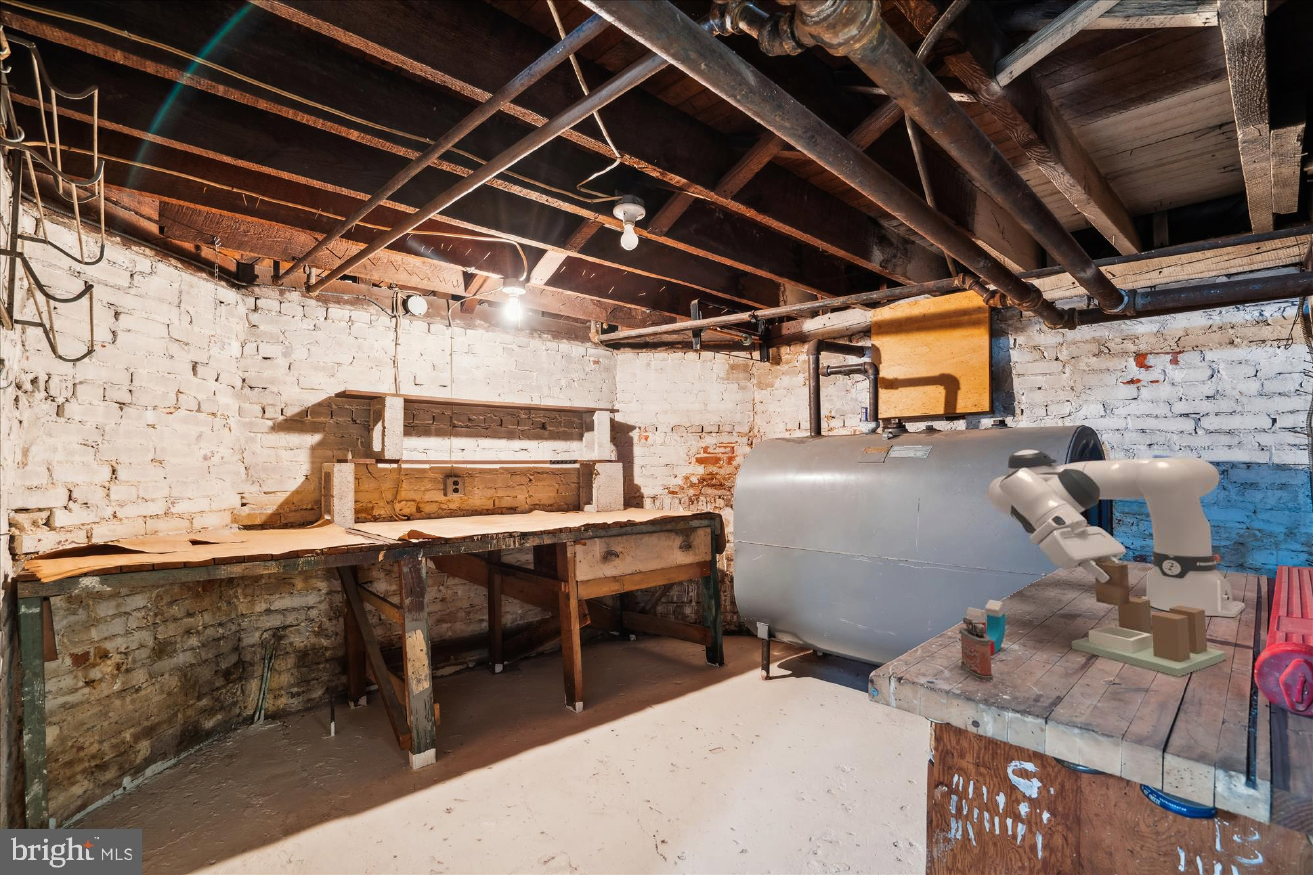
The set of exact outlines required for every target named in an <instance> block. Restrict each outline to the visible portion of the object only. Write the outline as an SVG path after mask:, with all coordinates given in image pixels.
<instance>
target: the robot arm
mask: <svg viewBox="0 0 1313 875" xmlns="http://www.w3.org/2000/svg"><path fill="white" fill-rule="evenodd" d="M1007 461H1008V462H1007V469H1009V470H1008V471H1009V472H1008V474H1007V475H1003V476H999V477H997V478H994V479H993V480H992V481H991V482H990V484H989V485H988V488H987V489H988V490H987V496H988V499H989V501H990V503H991V504H992V505H993V507H995V508H996V509H997V510H998V511H1000V512H1001V513H1002V514H1004V515H1006V516H1009V517H1011V518H1012V519H1014V520H1016V522H1018V523H1019V524H1020V525H1021V527H1022V528H1023V529H1024V531H1025V532H1026V533H1027V534H1031V535H1030V536H1029V540H1030V541H1031V542H1032V543H1033V544H1034V545H1037V546H1039V548H1040V550H1041V551H1042V553H1044V554H1045V556H1047V557H1048V558H1049V559H1050V560H1051V562H1053V564H1055V566H1057V567H1059V568H1061V569H1062V570H1069V569H1070V570H1071V569H1074V568H1075V569H1076V568H1082V569H1083V570H1084V572H1087V573H1088V574H1090V575H1092V576H1093V577H1094V578H1095V577H1096V578H1097V579H1098V580H1099V581H1100V582H1102V583H1105V582H1108V581H1109V580H1111V579H1112V576H1111V575H1109V573H1108V572H1107V571H1103V570H1102V569H1100V568H1099V567H1098V566H1096V565H1095V564H1096V563H1098V562H1104V561H1107V562H1115V563H1119V559H1120V558H1121V557H1123V556H1125V554H1126V553H1127V550H1126V548H1125V547H1124V545H1123V544H1121V543H1120V542H1119V540H1117V539H1116V538H1115V537H1114V536H1112V535H1111V534H1109V533H1108V532H1107V531H1106V530H1104V529H1103V528H1101V527H1100V526H1099V527H1098V526H1093V525H1091V524H1089V523H1088V521H1087V519H1086V518H1085V517H1084V516H1083V515H1082V514H1081V513H1082V512H1084V511H1085V510H1088V509H1090V508H1092V507H1093V506H1096V505H1098V504H1099V500H1145V503H1146V506H1147V509H1148V513H1149V515H1150V520H1151V527H1152V538H1153V540H1152V542H1153V550H1152V551H1151V564H1152V565H1153V567H1152V568H1151V569H1149V570H1148V571H1147V572H1146V573H1147V574H1146V595H1145V596H1141V597H1140V598H1141V599H1146V600H1150V607H1153V608H1155V609H1158V610H1161V611H1162V610H1163V611H1165V612H1166V611H1167V612H1170V611H1169V608H1172V607H1175V606H1179V605H1180V606H1186V607H1191V608H1197V609H1203V610H1205V616H1206V617H1207V616H1210V617H1212V616H1213V617H1215V616H1217V617H1224V618H1225V617H1227V618H1236V617H1237V616H1238V615H1239V614H1240V613H1241V612H1242V611H1243V610H1244V609H1245V608H1246V605H1245V604H1246V603H1244V602H1241V601H1238V600H1235V599H1233V593H1232V592H1233V591H1232V585H1231V583H1230V582H1229V581H1227V579H1226V578H1225V577H1224V576H1223V575H1222V574H1221V573H1220V572H1219V571H1218V570H1217V569H1218V565H1217V564H1218V563H1219V562H1220V559H1221V558H1220V555H1219V554H1213V551H1212V533H1211V524H1210V522H1209V520H1208V518H1207V517H1206V516H1205V513H1204V510H1203V507H1202V503H1201V501H1200V500H1201V499H1200V498H1201V497H1202V498H1203V497H1204V496H1206V495H1208V494H1209V493H1211V492H1212V491H1213V490H1215V488H1216V487H1217V486H1218V484H1219V482H1220V474H1219V470H1217V468H1216V467H1215V466H1214V465H1213V464H1212V463H1210V462H1209V461H1207V460H1205V459H1201V458H1198V457H1195V456H1169V457H1154V458H1153V457H1152V458H1151V457H1149V458H1129V459H1127V458H1126V459H1125V458H1124V459H1110V460H1108V459H1107V460H1106V459H1105V460H1089V461H1088V460H1087V461H1077V462H1070V463H1067V464H1061V465H1056V466H1055V465H1054V464H1055V463H1058V461H1057V460H1056V459H1054V458H1052V457H1051V456H1049V454H1047V453H1045V452H1043V451H1042V450H1036V449H1023V450H1019V451H1017V452H1015V453H1012V454H1011V455H1009V457H1008V460H1007Z"/></svg>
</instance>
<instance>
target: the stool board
mask: <svg viewBox="0 0 1313 875" xmlns="http://www.w3.org/2000/svg"><path fill="white" fill-rule="evenodd" d="M1129 601H1130V604H1125V605H1121V606H1117V610H1118V611H1117V612H1118V626H1116V625H1112V624H1111V625H1110V624H1107V625H1103V626H1099V627H1096V628H1092V629H1090V630H1088V636H1087V637H1083V638H1082V637H1081V638H1079V639H1076V640H1072V641H1071V649H1072V650H1076V651H1080V652H1084V653H1088V654H1092V655H1096V656H1099V657H1103V658H1107V659H1109V660H1113V661H1117V662H1120V663H1124V664H1128V665H1132V666H1136V667H1139V668H1143V669H1147V670H1150V669H1152V670H1151V671H1154V670H1156V671H1155V672H1158V671H1160V672H1159V673H1161V672H1164V673H1163V674H1165V673H1168V674H1167V675H1169V674H1170V675H1169V676H1173V675H1175V676H1174V677H1176V676H1178V678H1181V677H1183V676H1182V675H1184V676H1186V675H1188V674H1187V673H1189V674H1191V673H1190V672H1192V673H1194V672H1197V671H1199V669H1200V670H1202V669H1205V668H1208V667H1211V666H1213V665H1215V664H1218V663H1221V662H1223V660H1224V661H1226V660H1227V657H1226V656H1227V655H1226V651H1223V650H1218V649H1214V648H1209V647H1208V643H1207V641H1208V640H1207V624H1206V615H1205V610H1203V609H1197V608H1191V607H1186V606H1180V605H1179V606H1175V607H1172V608H1169V611H1167V612H1166V611H1159V612H1155V613H1152V612H1151V606H1150V600H1146V599H1141V597H1140V598H1139V597H1136V596H1135V597H1133V596H1130V595H1129ZM1196 670H1197V671H1196ZM1193 671H1194V672H1193ZM1185 674H1186V675H1185ZM1180 676H1181V677H1180Z"/></svg>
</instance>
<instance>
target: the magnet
mask: <svg viewBox="0 0 1313 875" xmlns="http://www.w3.org/2000/svg"><path fill="white" fill-rule="evenodd" d="M984 610H985V612H984V611H983V610H982V609H979V608H974V607H970V606H969V607H967V612H966V616H968V617H970V618H972V619H974V620H979V621H980V622H981V624H982V625H983V626H984V629H985V632H984V634H986V635H987V636H988V637H990V638H991V644H990V654H991V655H995V654H997V653H998V652H999V651H1000V649H1001V647H1002V644H1003V643H1004V639H1005V632H1006V628H1007V627H1006V624H1007V623H1006V621H1007V620H1006V610H1005V607H1004V602H1003V601H999V600H994V599H989V600H988V601H987V603H986V605H985V607H984ZM967 626H968V625H966V624H965V627H967Z"/></svg>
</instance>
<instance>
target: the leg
mask: <svg viewBox="0 0 1313 875" xmlns="http://www.w3.org/2000/svg"><path fill="white" fill-rule="evenodd" d="M1095 565H1096V566H1098V567H1099V568H1100V569H1102V570H1103V571H1107V572H1108V573H1109V575H1111V576H1112V579H1111V580H1109V581H1108V582H1105V583H1102V582H1100V581H1099V580H1098V579H1097V578H1096V577H1095V576H1094V578H1095V597H1096V599H1095V601H1096V603H1102V604H1107V605H1111V606H1116V607H1118V606H1121V605H1125V604H1130V601H1129V596H1130V586H1129V583H1130V582H1129V564H1128V563H1120V562H1118V563H1115V562H1107V561H1104V562H1098V563H1096V564H1095Z"/></svg>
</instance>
